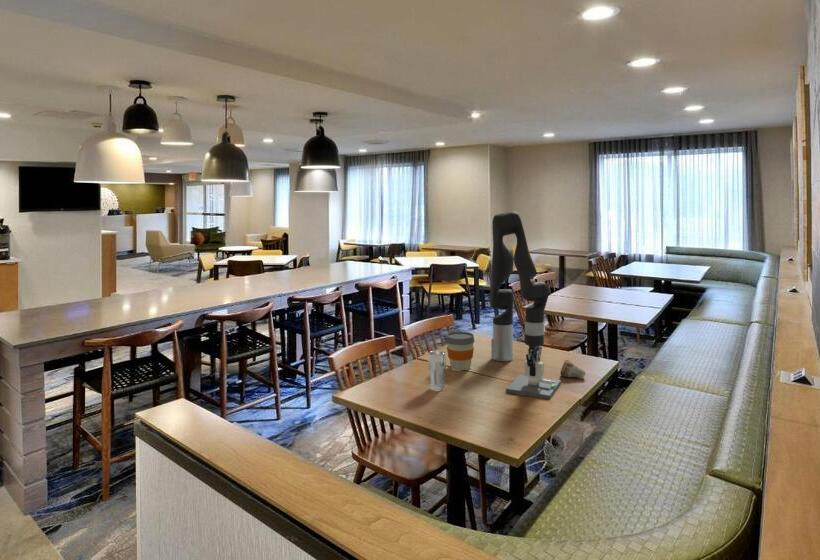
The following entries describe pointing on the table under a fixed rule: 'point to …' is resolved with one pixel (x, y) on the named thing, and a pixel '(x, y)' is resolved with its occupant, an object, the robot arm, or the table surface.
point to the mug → (571, 370)
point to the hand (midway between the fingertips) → (533, 374)
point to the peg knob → (539, 374)
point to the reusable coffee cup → (460, 349)
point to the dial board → (533, 387)
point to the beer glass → (437, 369)
